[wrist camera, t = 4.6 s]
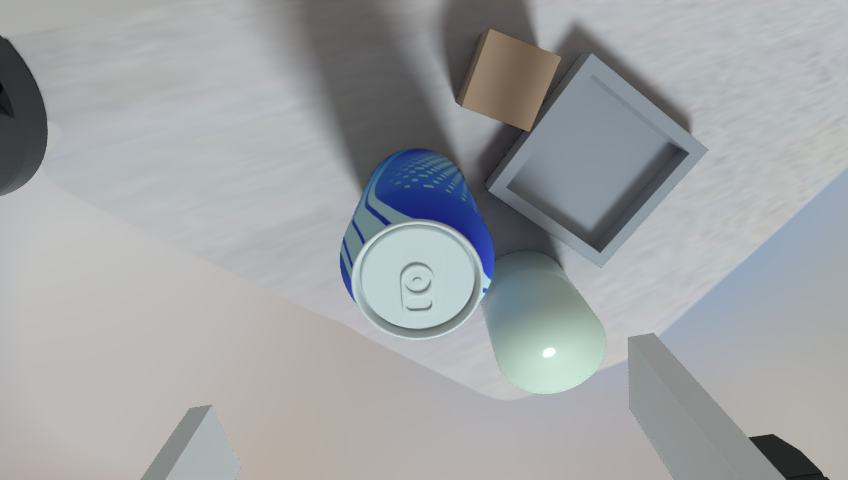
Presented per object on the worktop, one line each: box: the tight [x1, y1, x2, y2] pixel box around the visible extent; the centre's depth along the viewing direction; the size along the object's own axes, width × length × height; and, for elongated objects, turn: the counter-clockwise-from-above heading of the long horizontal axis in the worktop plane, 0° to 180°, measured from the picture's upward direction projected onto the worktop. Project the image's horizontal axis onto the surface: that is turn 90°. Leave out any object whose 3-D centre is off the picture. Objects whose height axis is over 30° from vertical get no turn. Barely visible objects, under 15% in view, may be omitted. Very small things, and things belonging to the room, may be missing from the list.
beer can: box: [340, 149, 495, 340], centre depth 29 cm, size 8×8×16 cm
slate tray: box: [484, 53, 708, 268], centre depth 34 cm, size 12×12×2 cm
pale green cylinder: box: [480, 251, 606, 394], centre depth 35 cm, size 8×8×9 cm
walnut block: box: [456, 29, 561, 132], centre depth 31 cm, size 5×5×5 cm
